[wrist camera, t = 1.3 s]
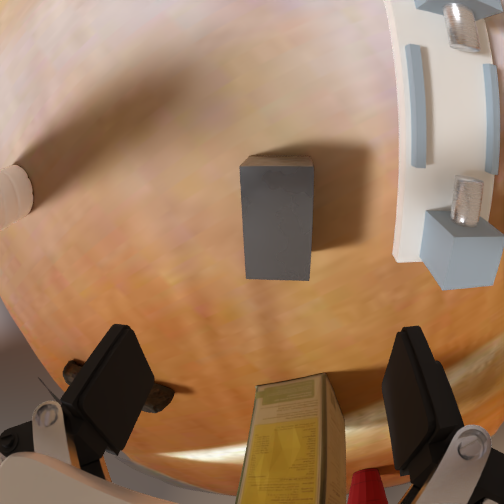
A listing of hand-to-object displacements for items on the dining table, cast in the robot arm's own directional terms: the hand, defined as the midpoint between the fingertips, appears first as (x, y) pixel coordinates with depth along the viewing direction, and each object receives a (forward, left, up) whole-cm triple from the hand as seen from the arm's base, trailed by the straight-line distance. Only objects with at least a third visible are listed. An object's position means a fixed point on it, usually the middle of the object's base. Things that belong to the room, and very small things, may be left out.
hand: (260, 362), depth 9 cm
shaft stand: (-8, +14, -15) cm, 22 cm away
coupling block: (0, 0, -15) cm, 15 cm away
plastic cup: (+59, +17, -15) cm, 63 cm away
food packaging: (+27, +2, -15) cm, 31 cm away
